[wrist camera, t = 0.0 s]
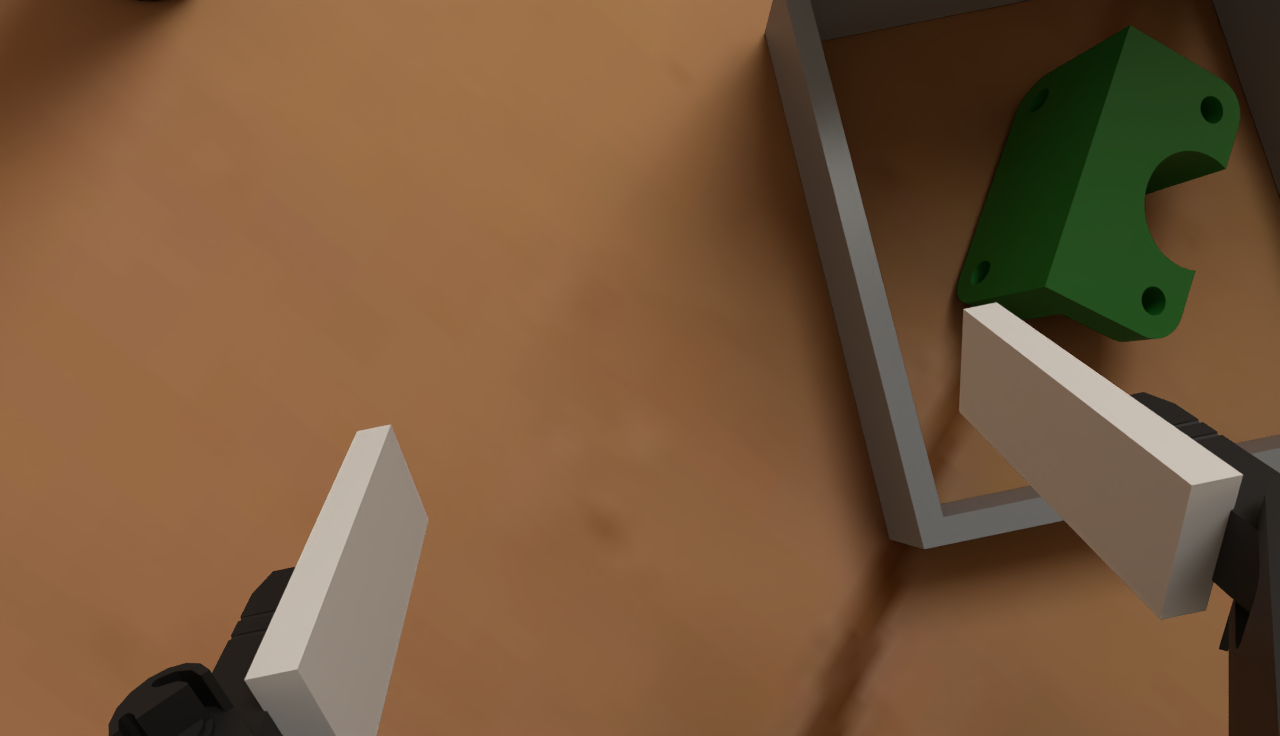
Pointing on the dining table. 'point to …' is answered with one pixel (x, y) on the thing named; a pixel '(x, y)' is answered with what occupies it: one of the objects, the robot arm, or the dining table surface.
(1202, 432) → the robot arm
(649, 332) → the dining table surface
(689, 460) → the dining table surface
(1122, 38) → the clamp
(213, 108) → the dining table surface
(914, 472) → the case
